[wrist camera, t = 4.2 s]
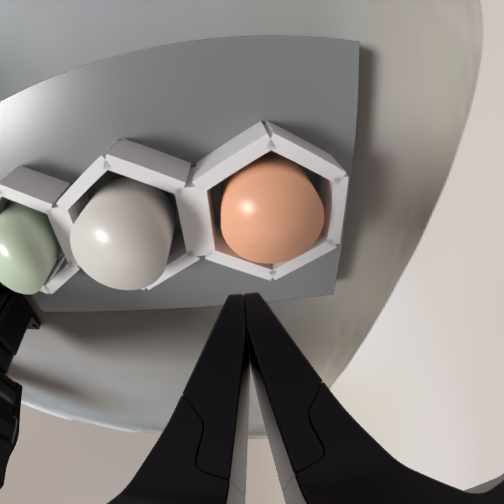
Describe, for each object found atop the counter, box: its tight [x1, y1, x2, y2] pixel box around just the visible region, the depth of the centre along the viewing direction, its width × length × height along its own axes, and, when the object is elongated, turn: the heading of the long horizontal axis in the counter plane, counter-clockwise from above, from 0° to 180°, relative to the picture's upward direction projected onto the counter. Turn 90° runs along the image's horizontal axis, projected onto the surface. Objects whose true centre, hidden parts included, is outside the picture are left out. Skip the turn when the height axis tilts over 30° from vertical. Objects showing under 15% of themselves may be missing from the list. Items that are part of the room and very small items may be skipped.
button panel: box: [0, 36, 359, 312], centre depth 13 cm, size 20×14×4 cm
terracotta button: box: [221, 153, 324, 264], centre depth 12 cm, size 4×4×2 cm
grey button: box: [70, 177, 175, 290], centre depth 11 cm, size 4×4×2 cm
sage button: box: [0, 201, 62, 294], centre depth 11 cm, size 4×4×2 cm
